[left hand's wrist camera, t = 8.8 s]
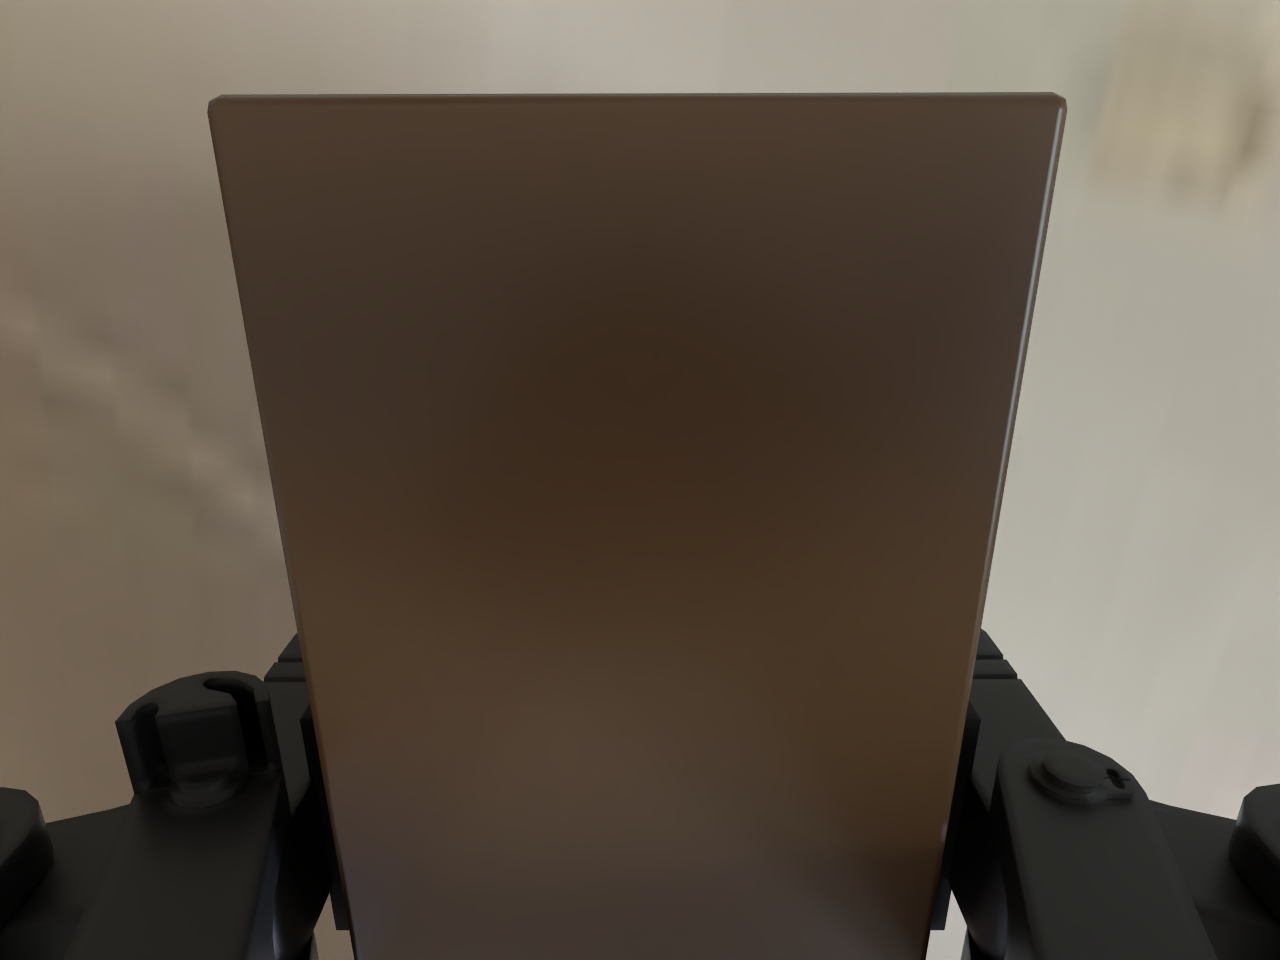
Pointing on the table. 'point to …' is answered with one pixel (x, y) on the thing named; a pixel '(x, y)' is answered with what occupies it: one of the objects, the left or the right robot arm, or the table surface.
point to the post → (638, 497)
